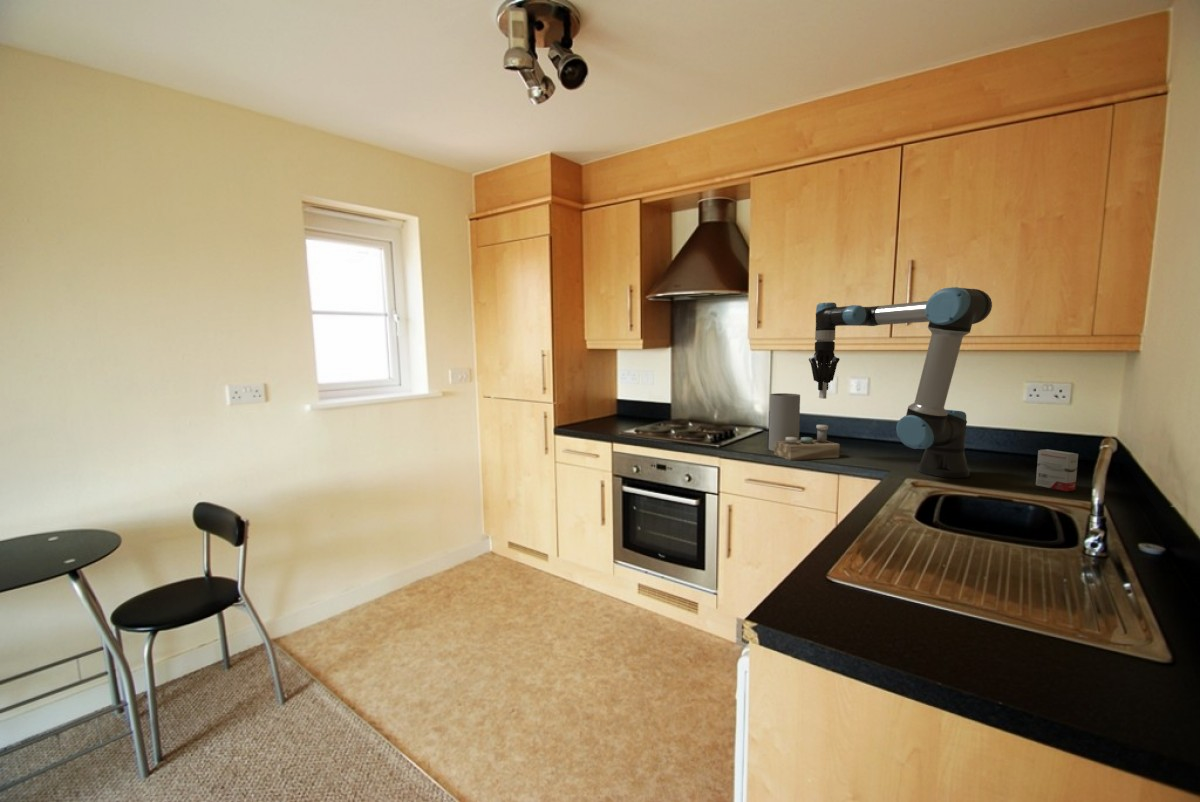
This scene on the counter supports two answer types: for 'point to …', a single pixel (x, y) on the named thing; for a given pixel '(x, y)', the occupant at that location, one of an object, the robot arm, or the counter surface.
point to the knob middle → (806, 440)
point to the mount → (807, 450)
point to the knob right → (821, 433)
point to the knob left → (791, 440)
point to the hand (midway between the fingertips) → (822, 398)
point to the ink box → (1057, 470)
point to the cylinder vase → (783, 417)
